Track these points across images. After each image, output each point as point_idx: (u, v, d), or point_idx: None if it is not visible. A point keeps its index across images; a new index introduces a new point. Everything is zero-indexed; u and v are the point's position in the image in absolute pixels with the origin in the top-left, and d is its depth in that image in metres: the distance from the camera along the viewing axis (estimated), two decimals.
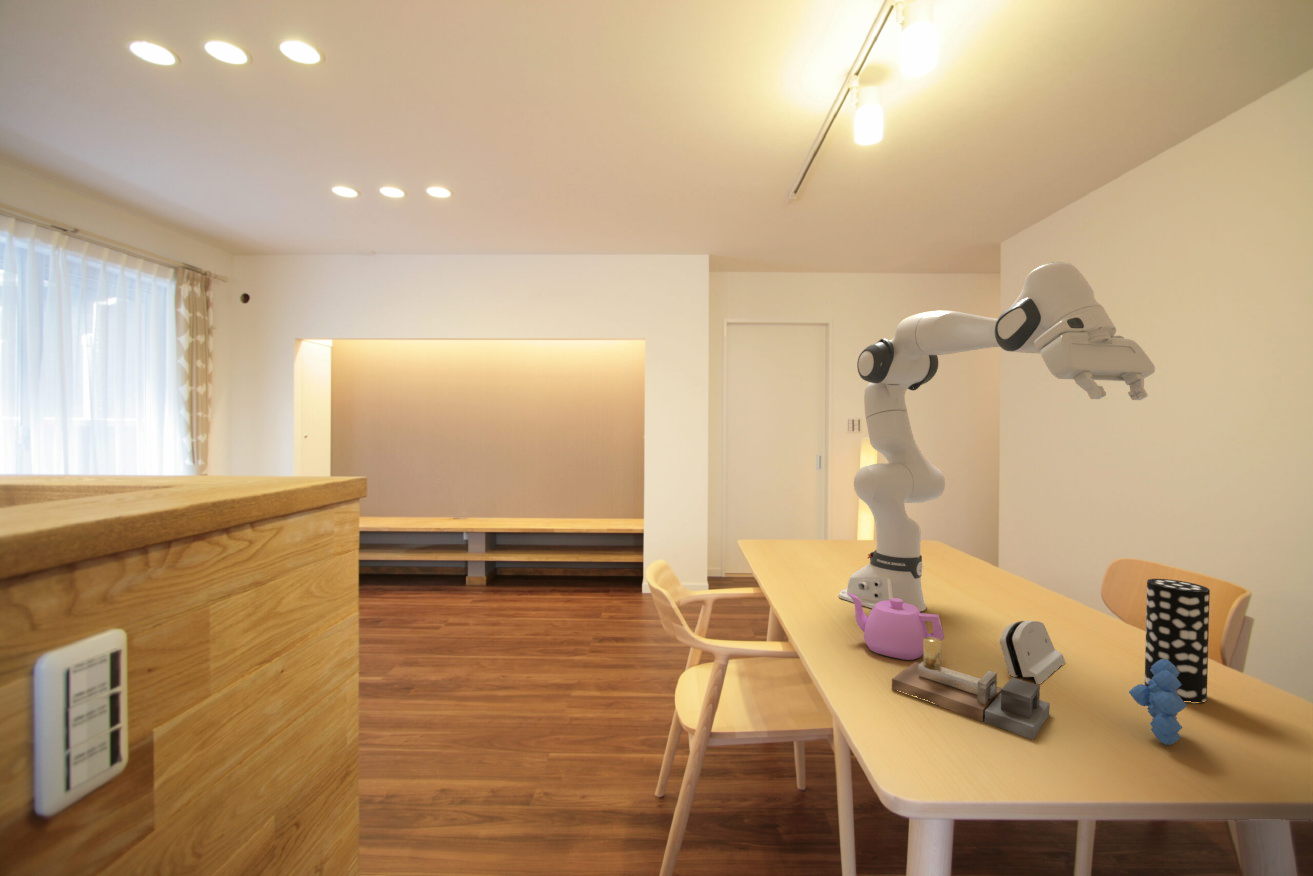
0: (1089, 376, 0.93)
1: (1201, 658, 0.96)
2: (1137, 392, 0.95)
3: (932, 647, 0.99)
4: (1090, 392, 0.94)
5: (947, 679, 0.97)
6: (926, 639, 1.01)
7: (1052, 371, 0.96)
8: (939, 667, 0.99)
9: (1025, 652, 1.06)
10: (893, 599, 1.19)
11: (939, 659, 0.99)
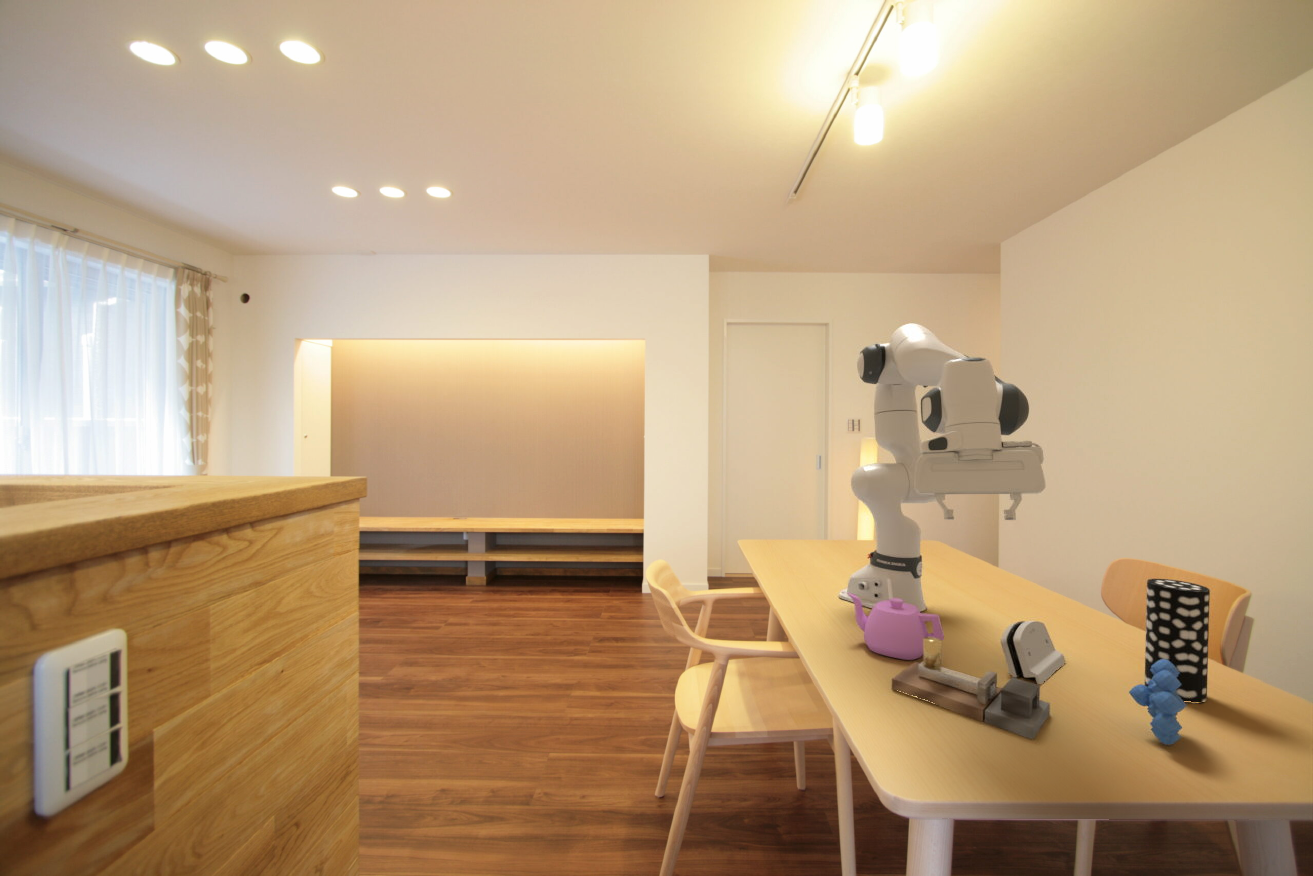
0: (940, 499, 0.98)
1: (1201, 658, 0.96)
2: (1006, 514, 0.94)
3: (932, 647, 0.99)
4: None
5: (947, 679, 0.97)
6: (926, 639, 1.01)
7: None
8: (939, 667, 0.99)
9: (1026, 652, 1.06)
10: (893, 599, 1.19)
11: (939, 659, 0.99)
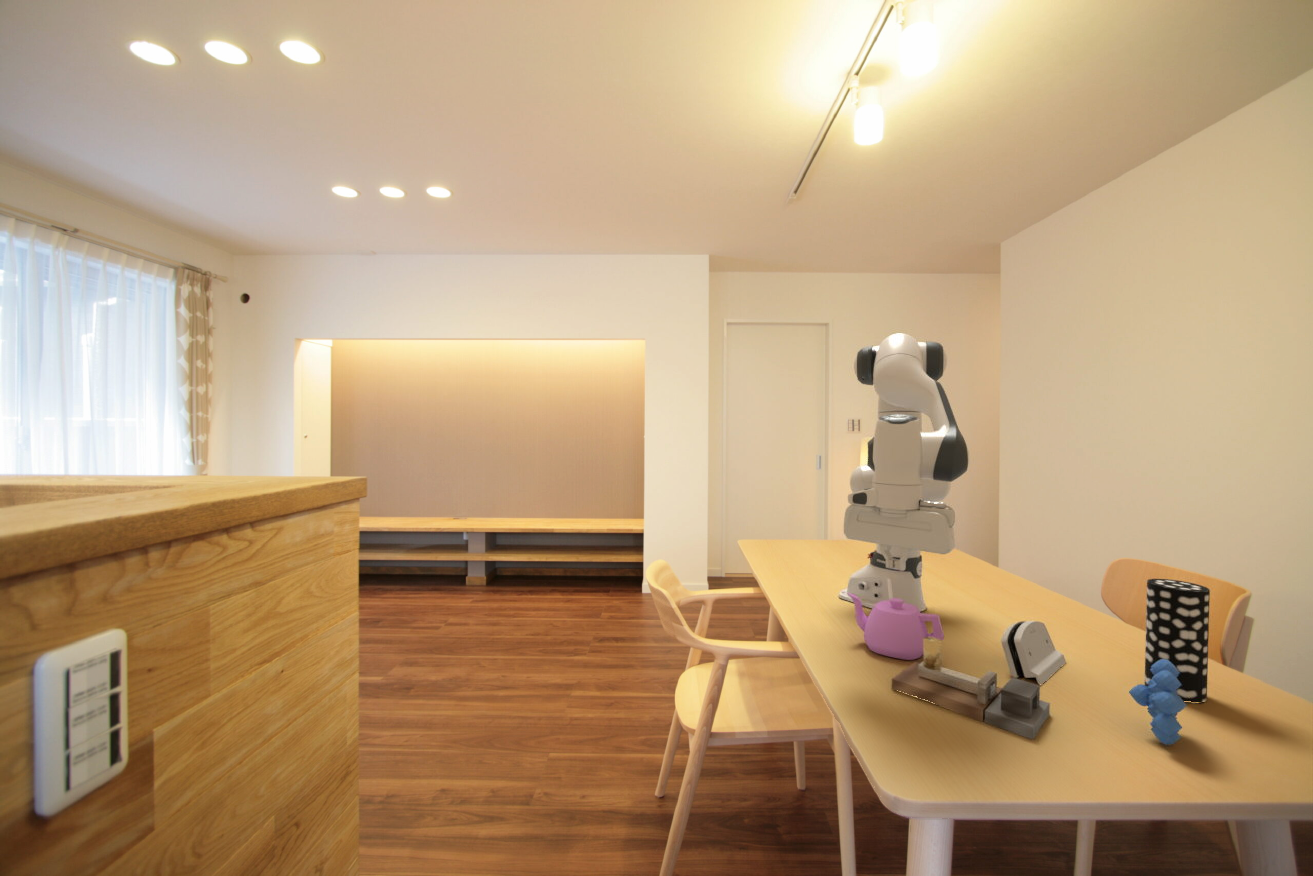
0: (883, 549, 1.06)
1: (1201, 658, 0.96)
2: None
3: (932, 647, 0.99)
4: None
5: (947, 679, 0.97)
6: (926, 639, 1.01)
7: None
8: (939, 667, 0.99)
9: (1027, 652, 1.06)
10: (893, 599, 1.19)
11: (939, 659, 0.99)
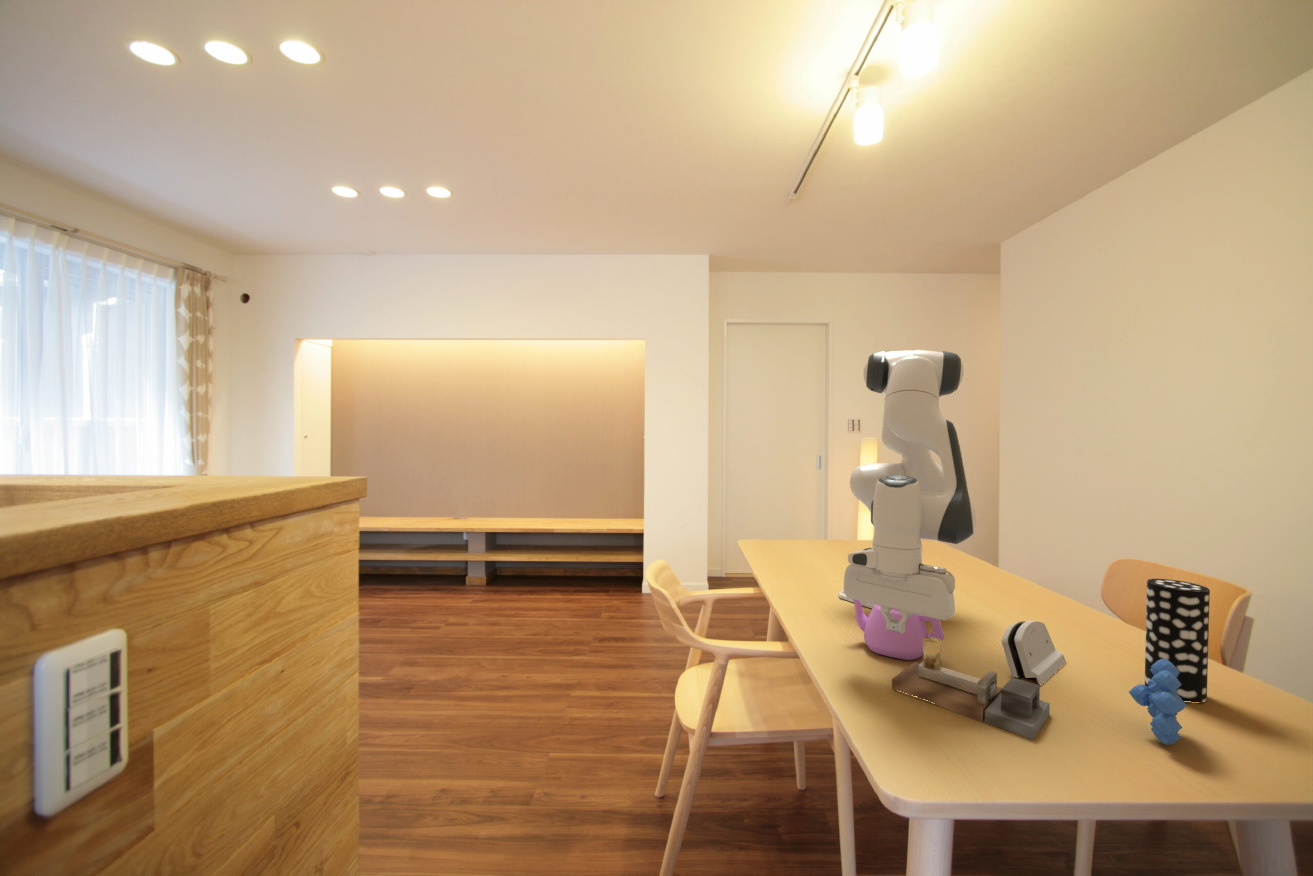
0: (883, 611, 1.06)
1: (1201, 658, 0.96)
2: None
3: (932, 647, 0.99)
4: None
5: (947, 679, 0.97)
6: (926, 639, 1.01)
7: None
8: (939, 667, 0.99)
9: (1027, 653, 1.06)
10: None
11: (939, 659, 0.99)
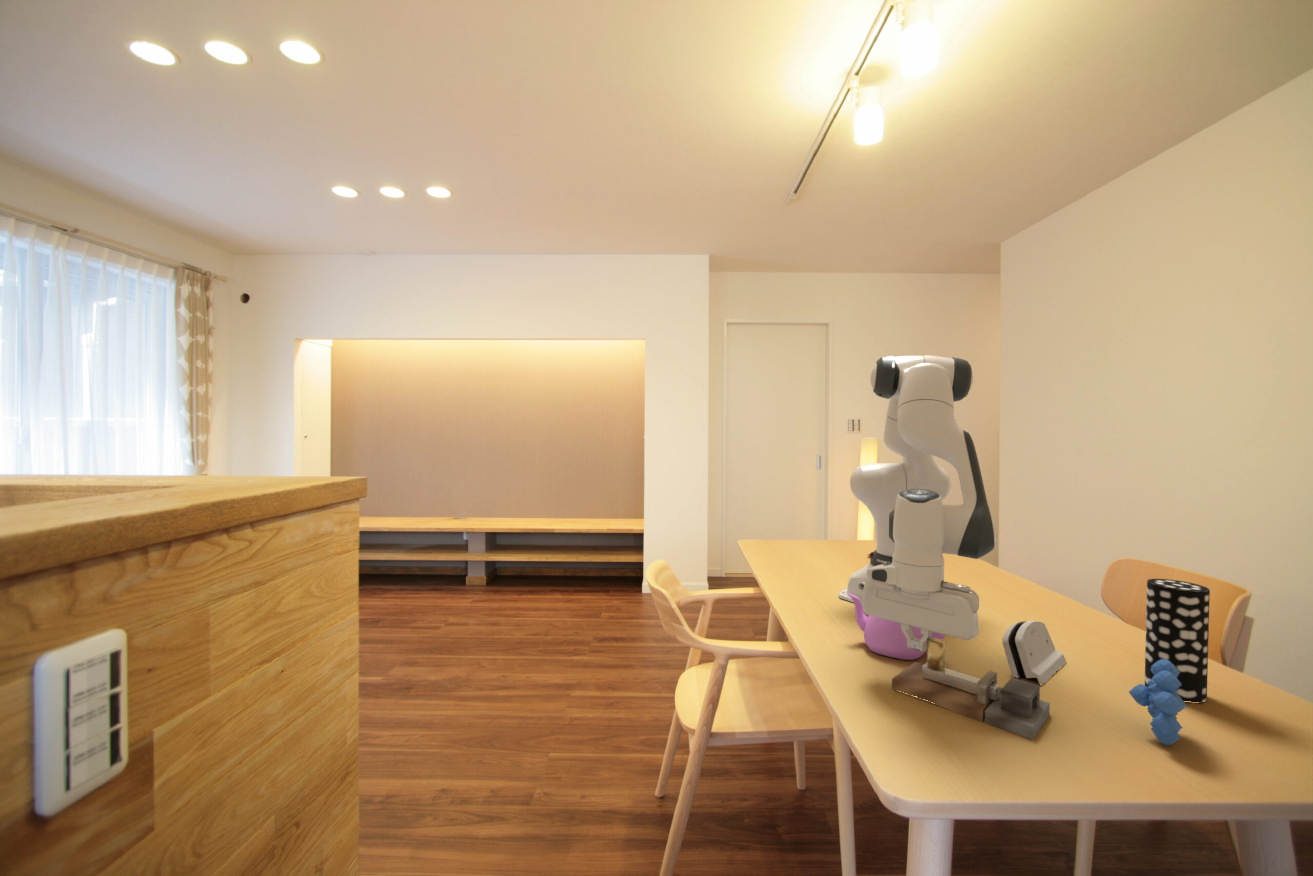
0: (904, 629, 1.03)
1: (1201, 658, 0.96)
2: None
3: (936, 649, 0.99)
4: None
5: (951, 680, 0.97)
6: (930, 640, 1.00)
7: None
8: (943, 668, 0.99)
9: (1028, 653, 1.06)
10: None
11: (943, 660, 0.99)
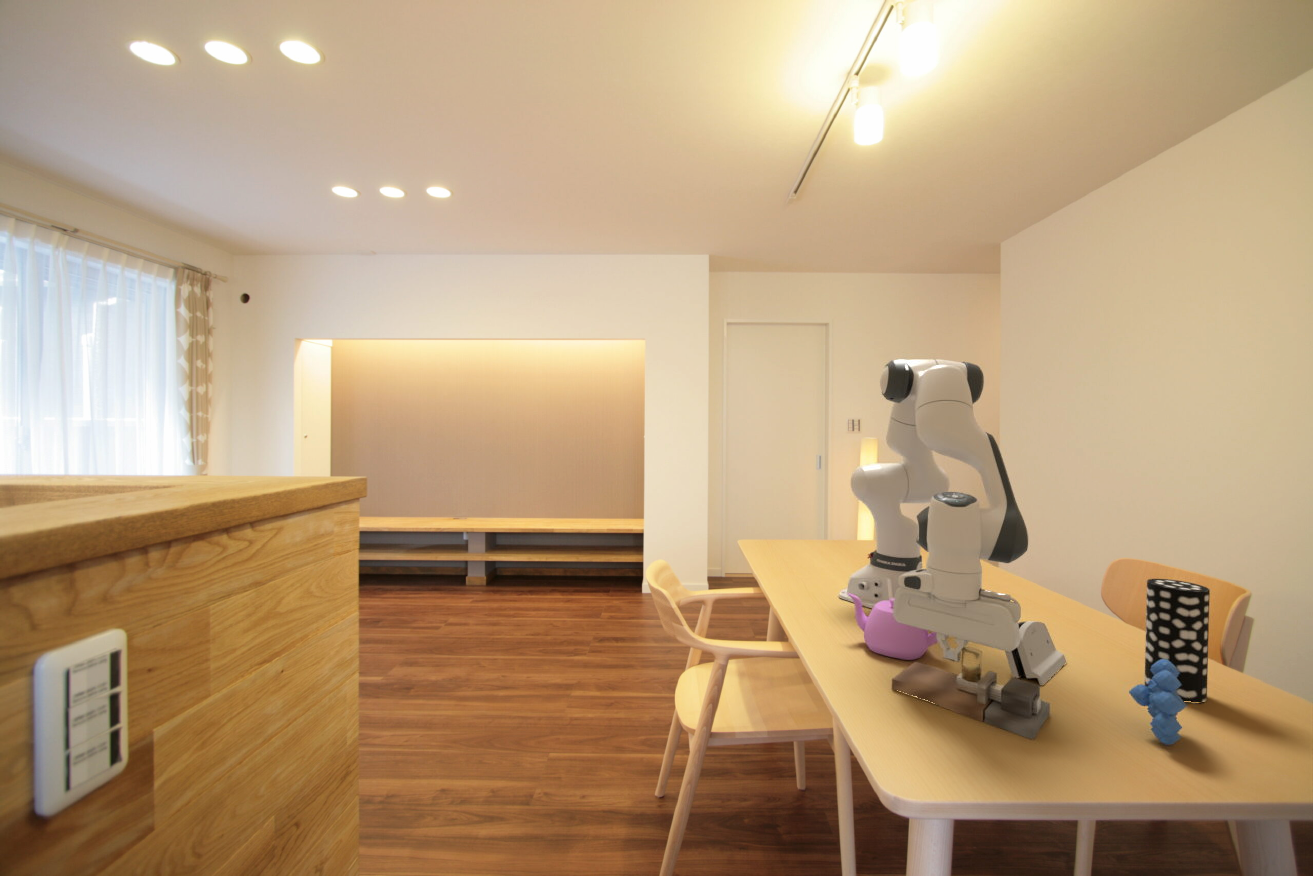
0: (939, 638, 0.98)
1: (1201, 658, 0.96)
2: None
3: (972, 659, 0.94)
4: None
5: (989, 692, 0.93)
6: (965, 650, 0.96)
7: None
8: (979, 679, 0.94)
9: (1028, 653, 1.06)
10: (893, 599, 1.19)
11: (979, 671, 0.94)
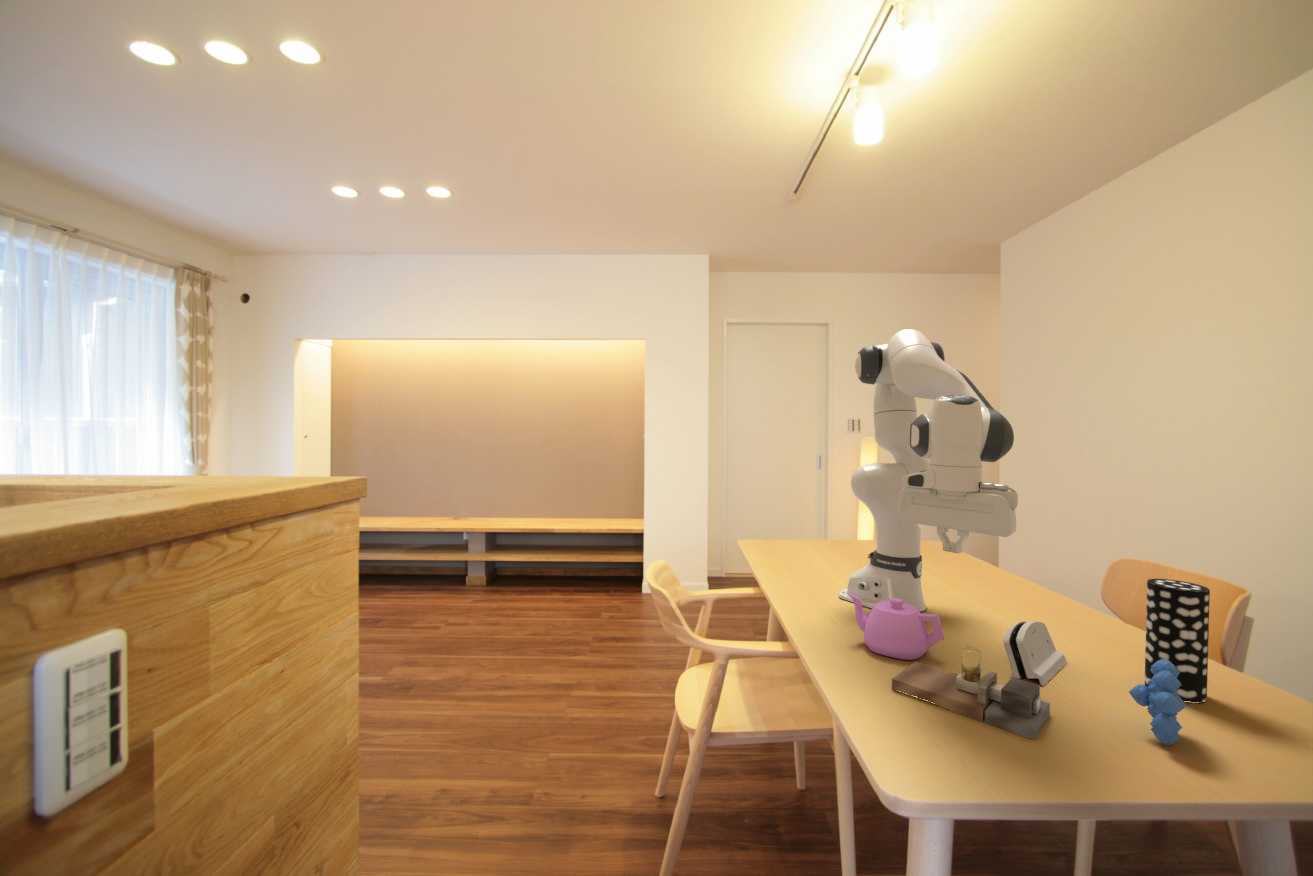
0: (940, 532, 1.05)
1: (1201, 658, 0.96)
2: (952, 547, 1.04)
3: (972, 659, 0.94)
4: None
5: (988, 692, 0.93)
6: (965, 650, 0.96)
7: None
8: (979, 679, 0.94)
9: (1029, 653, 1.05)
10: (893, 599, 1.19)
11: (979, 671, 0.94)
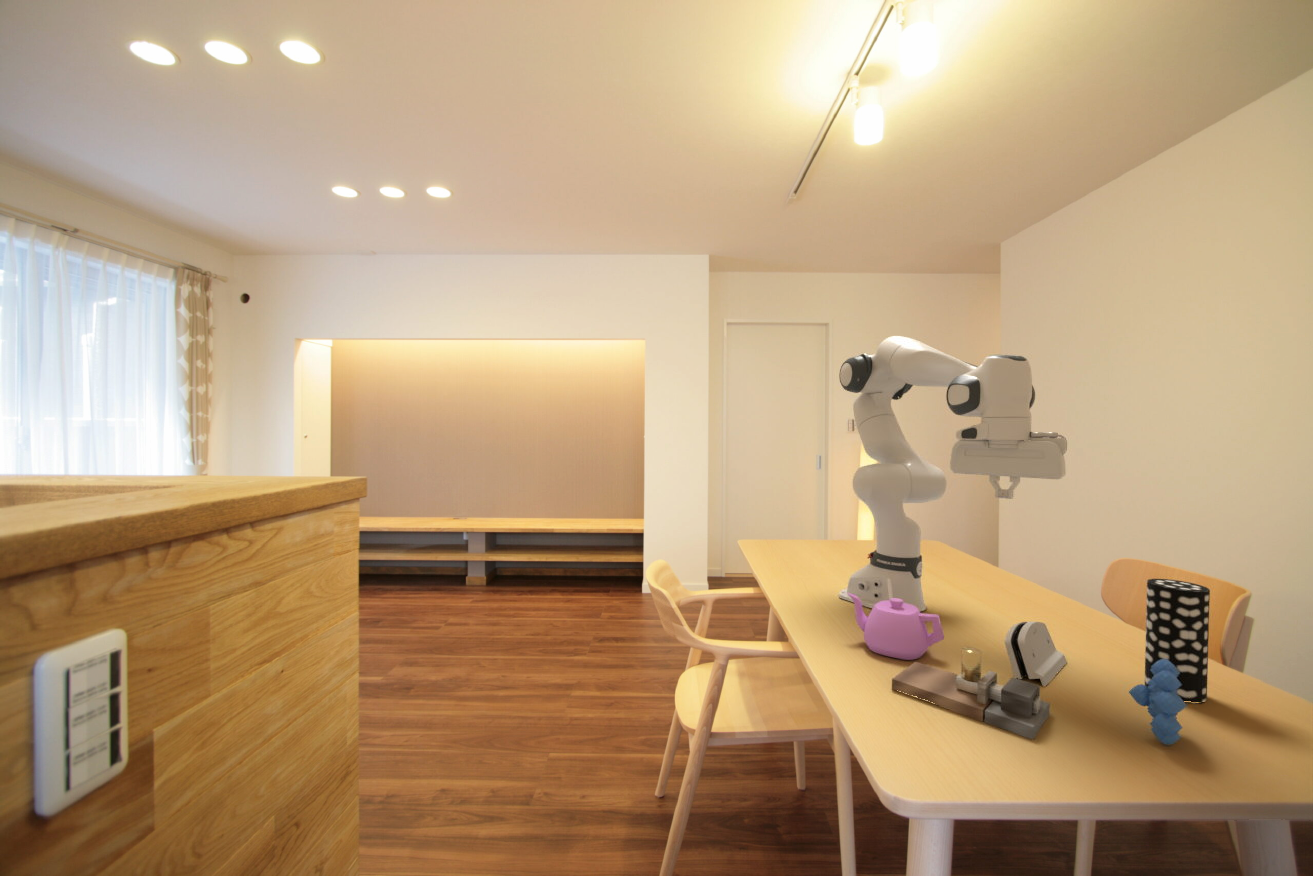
0: (992, 480, 1.14)
1: (1201, 658, 0.96)
2: None
3: (972, 659, 0.94)
4: None
5: (988, 692, 0.93)
6: (965, 650, 0.96)
7: None
8: (979, 679, 0.94)
9: (1030, 654, 1.05)
10: (893, 599, 1.19)
11: (979, 671, 0.94)
